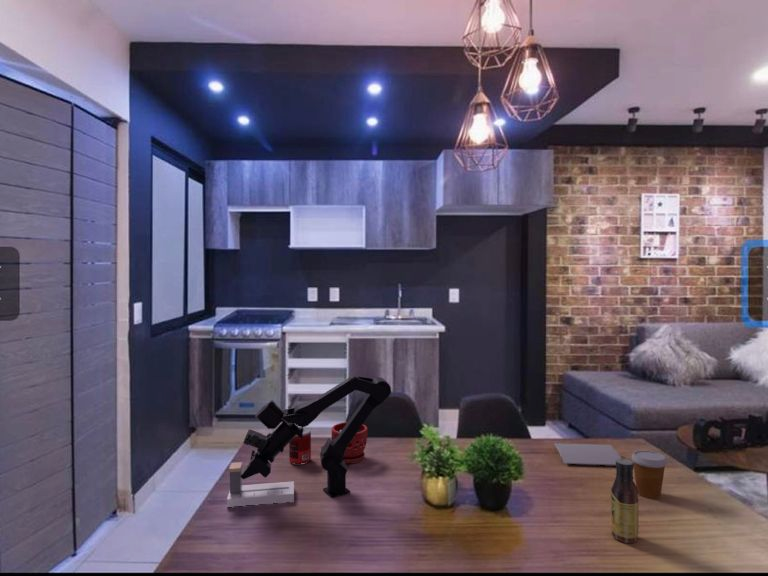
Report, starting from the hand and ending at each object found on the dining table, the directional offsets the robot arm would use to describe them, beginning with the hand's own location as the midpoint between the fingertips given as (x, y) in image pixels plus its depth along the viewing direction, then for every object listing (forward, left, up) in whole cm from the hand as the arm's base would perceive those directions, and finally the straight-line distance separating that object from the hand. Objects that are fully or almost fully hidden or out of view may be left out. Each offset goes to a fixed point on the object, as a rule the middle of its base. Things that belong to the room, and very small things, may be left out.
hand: (242, 477), depth 145 cm
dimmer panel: (-2, -5, -7) cm, 9 cm away
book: (-34, -116, -7) cm, 121 cm away
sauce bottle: (-73, -76, -7) cm, 106 cm away
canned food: (+20, -26, -7) cm, 34 cm away
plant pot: (+12, -42, -7) cm, 44 cm away
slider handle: (+1, +2, -4) cm, 4 cm away
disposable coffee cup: (-62, -106, -7) cm, 123 cm away
